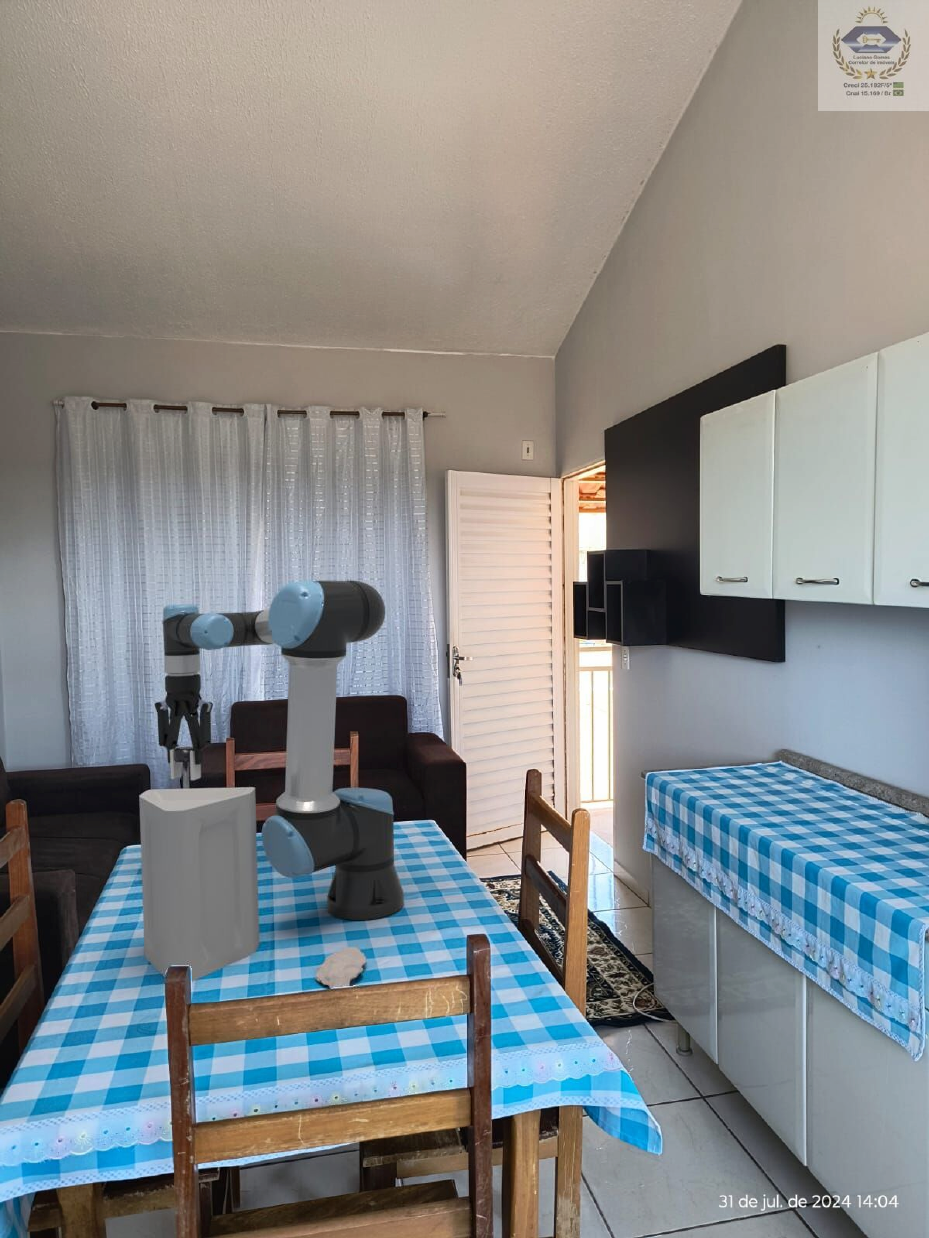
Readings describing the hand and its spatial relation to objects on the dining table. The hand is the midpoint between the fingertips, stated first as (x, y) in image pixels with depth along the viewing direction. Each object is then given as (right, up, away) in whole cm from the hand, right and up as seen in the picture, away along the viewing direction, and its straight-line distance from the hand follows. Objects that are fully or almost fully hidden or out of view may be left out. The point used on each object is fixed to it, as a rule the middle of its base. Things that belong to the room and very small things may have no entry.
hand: (185, 778), depth 182 cm
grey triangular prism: (+16, -23, -43) cm, 51 cm away
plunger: (0, -13, 0) cm, 13 cm away
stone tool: (+42, -23, -48) cm, 68 cm away
